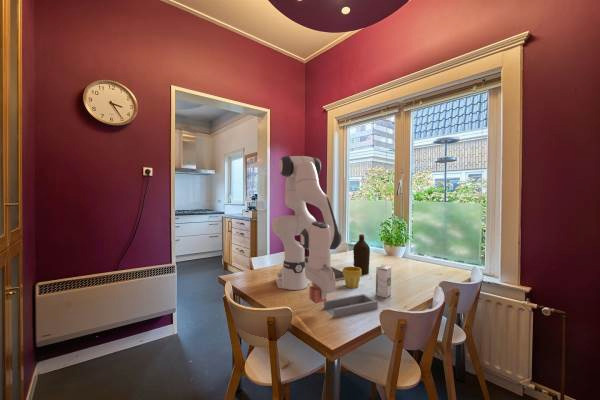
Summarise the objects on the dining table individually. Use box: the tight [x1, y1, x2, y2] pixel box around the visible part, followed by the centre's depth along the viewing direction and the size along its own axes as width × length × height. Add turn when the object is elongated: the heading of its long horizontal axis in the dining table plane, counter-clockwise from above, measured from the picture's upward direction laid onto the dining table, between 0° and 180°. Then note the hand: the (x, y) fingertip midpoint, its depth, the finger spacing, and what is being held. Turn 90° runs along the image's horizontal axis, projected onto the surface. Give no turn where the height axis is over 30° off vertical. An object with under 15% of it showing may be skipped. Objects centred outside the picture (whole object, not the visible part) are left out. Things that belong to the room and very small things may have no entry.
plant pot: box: [342, 265, 362, 289], centre depth 139 cm, size 10×10×10 cm
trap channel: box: [323, 293, 379, 319], centre depth 108 cm, size 9×21×4 cm, turn 114°
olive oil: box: [352, 233, 371, 276], centre depth 164 cm, size 11×11×25 cm
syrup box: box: [375, 264, 392, 299], centre depth 126 cm, size 6×6×14 cm
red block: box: [308, 285, 327, 304], centre depth 102 cm, size 5×5×5 cm
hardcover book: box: [330, 266, 345, 282], centre depth 159 cm, size 16×23×2 cm
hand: (319, 295), depth 103 cm, fingers closed on red block, 5 cm apart
